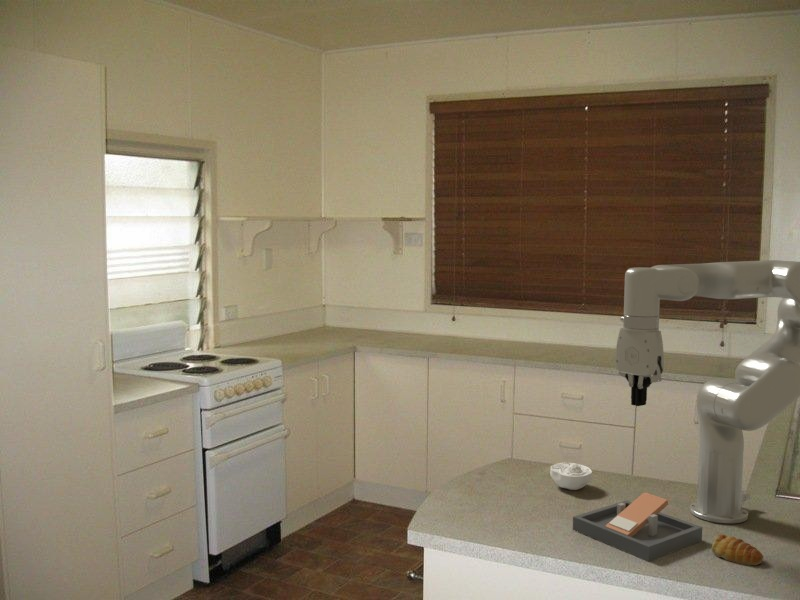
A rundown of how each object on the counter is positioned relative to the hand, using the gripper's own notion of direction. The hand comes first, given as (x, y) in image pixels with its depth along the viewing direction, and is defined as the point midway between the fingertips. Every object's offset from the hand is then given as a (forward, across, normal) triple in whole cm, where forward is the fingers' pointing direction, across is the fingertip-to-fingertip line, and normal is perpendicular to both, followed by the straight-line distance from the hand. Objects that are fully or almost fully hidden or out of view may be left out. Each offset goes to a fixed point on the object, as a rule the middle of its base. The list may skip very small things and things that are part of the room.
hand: (638, 404), depth 175 cm
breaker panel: (+27, +5, -6) cm, 28 cm away
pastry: (+28, +24, +2) cm, 36 cm away
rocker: (+23, +5, -6) cm, 24 cm away
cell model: (+27, -25, +6) cm, 38 cm away
